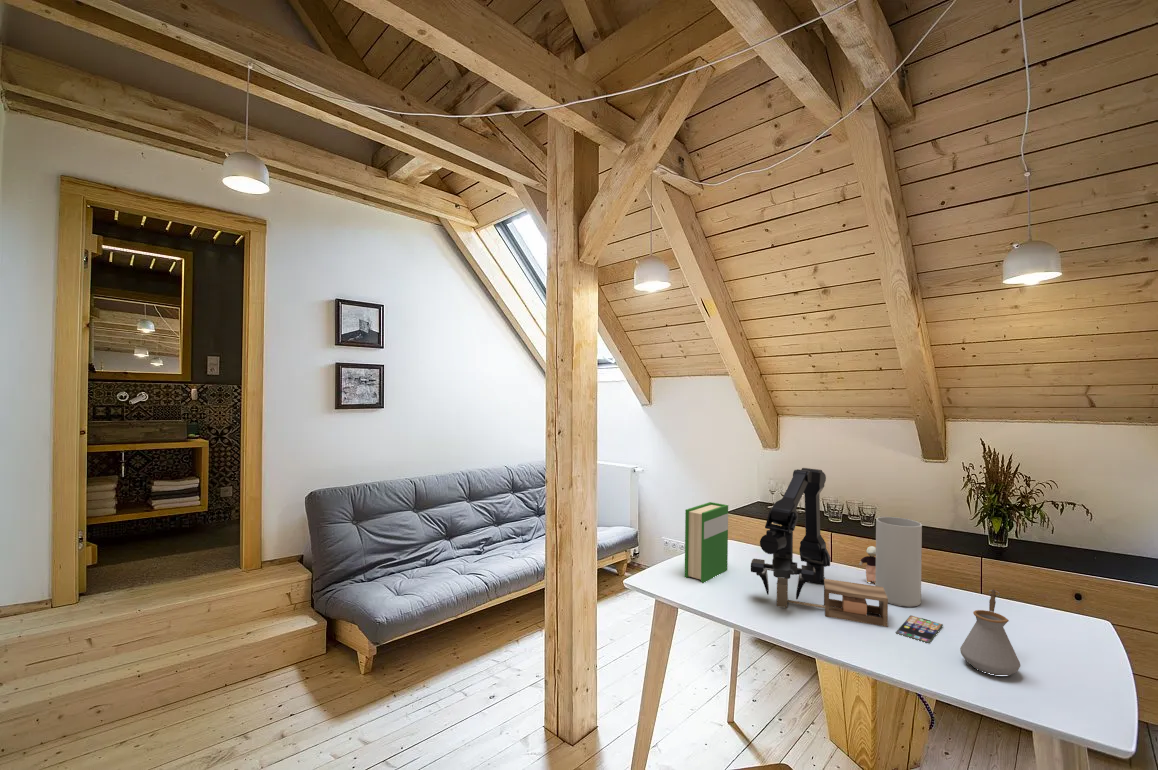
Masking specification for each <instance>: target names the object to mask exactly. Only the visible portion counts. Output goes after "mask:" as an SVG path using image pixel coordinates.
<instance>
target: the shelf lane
mask: <svg viewBox="0 0 1158 770" xmlns="http://www.w3.org/2000/svg"><path fill="white" fill-rule="evenodd" d="M830 594H832V595H839V596H842V595H844V596H851V597H857V598H864V599H866V600H871V601H876V602H877V601H878V605H872V604H867V615H863V614H857V613H851V612H845V611H839V610H833V609H829V606H830V607H836V608H842V599H841V600H840V599H833V598H830ZM888 604H889V603H888V598H887V595H886V593H885V591H884V588H883V587H879V586H875V585H872V584H864V583H858V582H851V581H843V580H835V579H829V578H825V579H824V584H823V606H825V608H824V617H827V618H834V619H839V620H844V621H851V622H856V623H857V622H858V623H862V624H869V625H875V626H879V627H881V626H882V627H887V628H888V622H889V621H888V619H889V618H888V613H889V612H888V611H889V610H888V609H889V608H888V606H889V605H888ZM869 614H874V615H875V614H876V615H879V616H874V615H869Z"/></svg>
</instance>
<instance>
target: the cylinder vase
mask: <svg viewBox="0 0 1158 770" xmlns="http://www.w3.org/2000/svg"><path fill="white" fill-rule="evenodd" d="M875 519H876V520H875V548H876V556H875V557H876V579H875V581H874V582H875V584H874V586H879V587H883V588H884V591H885V593H886V595H887V598H888V604H891V605H893V604H894V606H898V607H906V608H907V607H908V608H910V607H911V608H913V607H917V606H920V605H921V602H922V556H923V555H922V549H923V548H922V545H923V544H922V543H923V542H922V541H923V540H922V539H923V537H922V533H923V524H922V523H921V522H919V521H917V520H912V519H908V518H903V517H894V516H879V517H877V518H875Z"/></svg>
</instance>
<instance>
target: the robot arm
mask: <svg viewBox="0 0 1158 770" xmlns="http://www.w3.org/2000/svg"><path fill="white" fill-rule="evenodd" d="M826 480H827V475H826V473H825V472H823V470H822V469H816V468H808V467H802V468H801V469H794V470H793V472H792V478H791V480H790V482H789V484H788V486H787V488H786V490H785V492H784V494H783V496H782V498H781V499H779V500H777V501H775V503H774V504H773V506H772V507H771V508H770V510H769V513H768V516H767V519H766V522H765V525H764V528H765V529H766V533H765V534H764V535H763V536H761V538H760V540H759V546H760V548H761V550H762V551H763V552H765V553H766V554H768V555H772V561H771V562H772V564H770V563H766V559H761V558H759V559H758V558H752V560H751V562H750V572H751V573H755V575H756V576H759V577H760V578H761V581H762V582H763V583H762V584H763V586H764V588H765V592H766V595H767V596H769V593H770V587H769V586H770V585H769V578H768V577H769V576H768V571H770V572H772V573H773V577H774V578H776V579H778V577H780V578H785V579H788V580H789V579H791V576H797V575H798V579H797V585H796V594H795V599H796V600H798V599H799V597H800V595H801V592H802V588H803V587H804V586H805V584H808V583H814V584H821V585H824V579H826V577H825V567H831V561H832V560H831V555H830V553H829V551H828V549H827V543H826V541H825V540H824V538H823V536H822V534H821V511H820V510H821V509H820V508H821V505H820V504H821V503H820V502H821V501H820V499H821V498H820V493H821V492H822V491H823V489H824V487H825V483H826ZM803 495H804V519H805V521H804V525H805V526H804V527H805V535H804V537H803V538H802V539H801V540H800V544H799V557H800V561H801V562H805V563H806V565H804V564H802V565H801V567H800V568H799V567H798V562H795V561H793V553H794V547H793V545H794V543H793V542H794V540H793V539H794V531H795V529H796V526H797V523H798V521H799V517H798V516H799V514H798V509H797V508H798V505H799V503H800V501H801V499H802V497H803Z"/></svg>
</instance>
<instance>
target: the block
mask: <svg viewBox="0 0 1158 770" xmlns="http://www.w3.org/2000/svg"><path fill="white" fill-rule="evenodd" d="M776 579H777V581H776V607H780V608H785V609H788V603H789V604H795V605H802V606H806V607H814V608H817V609H818V608H819V609H820V608H821V609H825V606H824V604H823V605H822V604H816V603H811V602H803V601H799V600H798V601H797V600H791V599H789V597H788V596H789V592H788V590H789V589H788V588H789V583H788V581H789V579H785V578H781V577H778V578H776ZM841 597H842V599H841V601H842V608H836V607H830V606H829V609H833V610H839V611H845V612H851V613H857V614H863V615H868V613H867V605H868V603H867V599H864V598H857V597H851V596H844V595H841Z"/></svg>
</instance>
